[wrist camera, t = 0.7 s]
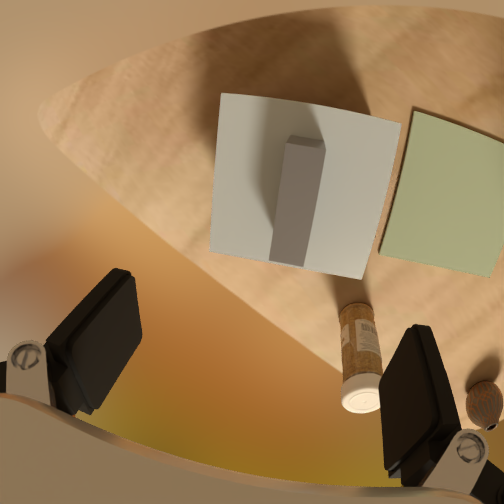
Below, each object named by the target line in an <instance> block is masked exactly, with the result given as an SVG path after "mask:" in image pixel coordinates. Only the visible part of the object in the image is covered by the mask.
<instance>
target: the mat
mask: <svg viewBox="0 0 504 504" xmlns="http://www.w3.org/2000/svg"><path fill="white" fill-rule="evenodd" d="M503 245H504V144H503V143H501V142H499V141H497V140H494V139H492V138H489V137H487V136H485V135H482V134H480V133H477V132H475V131H472V130H470V129H467V128H464V127H462V126H459V125H456V124H453V123H451V122H448V121H445V120H442V119H439V118H436V117H433V116H430V115H427V114H424V113H420V112H417V111H413V116H412V121H411V127H410V132H409V137H408V142H407V147H406V151H405V156H404V161H403V165H402V169H401V174H400V178H399V182H398V186H397V190H396V194H395V198H394V201H393V205H392V209H391V213H390V216H389V220H388V223H387V227H386V230H385V234H384V237H383V240H382V244H381V247H380V250H379V255H382V256H387V257H392V258H397V259H402V260H407V261H412V262H417V263H422V264H427V265H431V266H436V267H441V268H446V269H451V270H455V271H460V272H465V273H469V274H474V275H479V276H483V277H488V278H490V276H491V273H492V271H493V269H494V267H495V264H496V262H497V260H498V257H499V255H500V252H501V250H502V247H503Z"/></svg>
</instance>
